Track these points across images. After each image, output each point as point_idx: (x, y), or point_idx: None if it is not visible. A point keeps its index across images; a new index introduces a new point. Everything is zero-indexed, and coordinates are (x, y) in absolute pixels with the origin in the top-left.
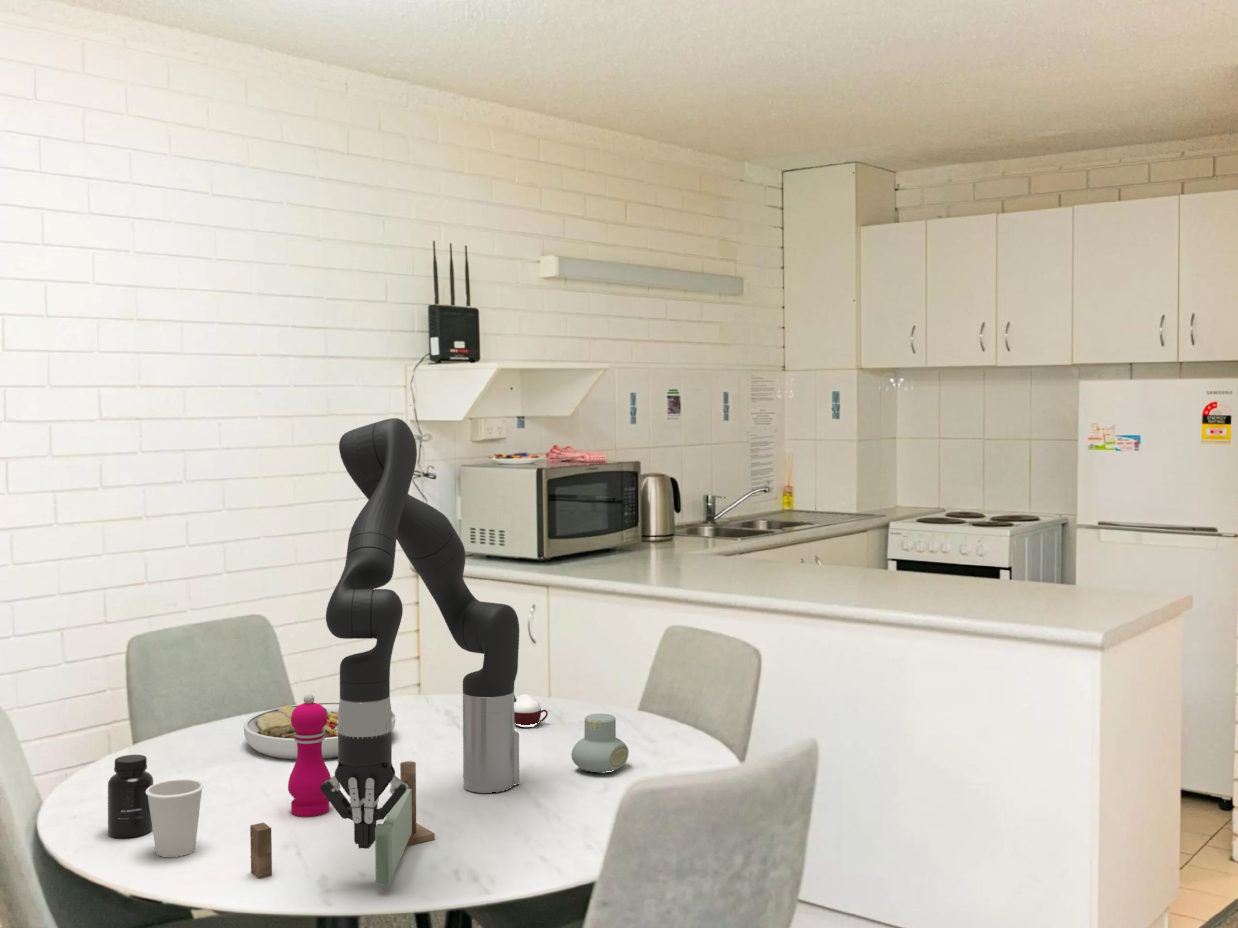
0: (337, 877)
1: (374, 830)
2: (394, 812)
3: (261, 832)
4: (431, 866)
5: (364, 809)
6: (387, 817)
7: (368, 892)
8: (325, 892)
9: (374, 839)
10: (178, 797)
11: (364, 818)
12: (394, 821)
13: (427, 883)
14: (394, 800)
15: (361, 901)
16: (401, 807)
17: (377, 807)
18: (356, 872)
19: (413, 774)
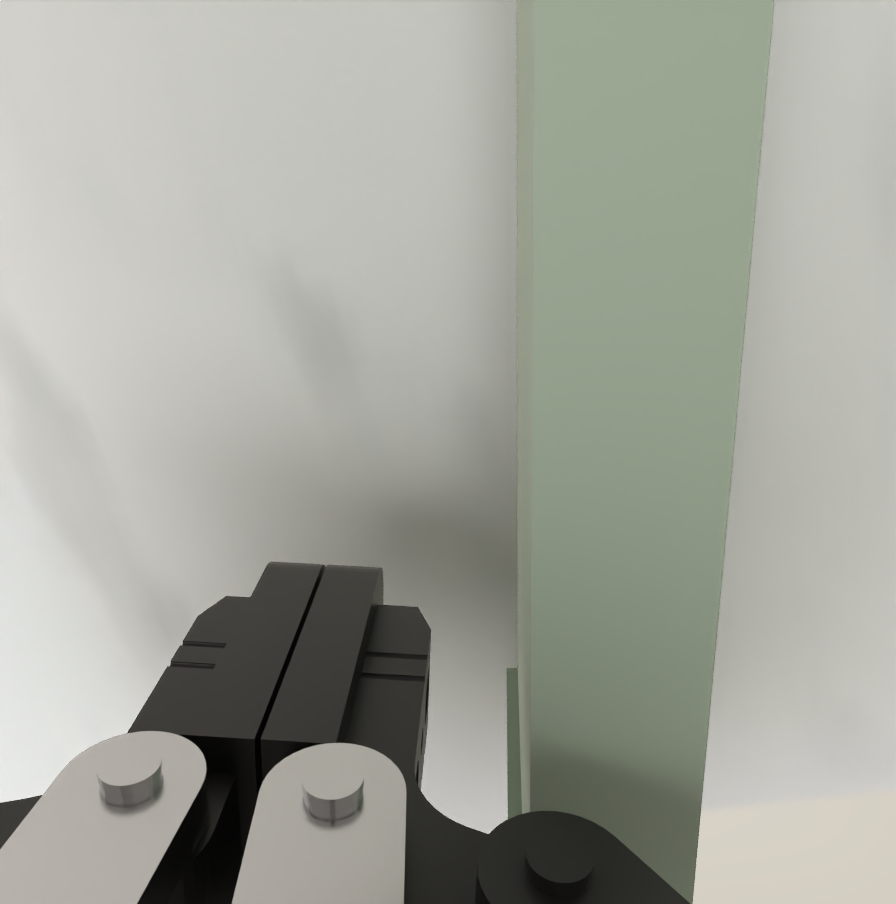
0: (144, 405)
1: (420, 774)
2: (642, 333)
3: None
4: (893, 157)
5: (169, 895)
6: (555, 586)
7: (448, 659)
8: (160, 653)
9: (427, 697)
10: None
11: (231, 827)
12: (696, 751)
13: (860, 520)
14: None
15: (435, 781)
16: (758, 13)
17: (403, 893)
18: (258, 304)
19: None
